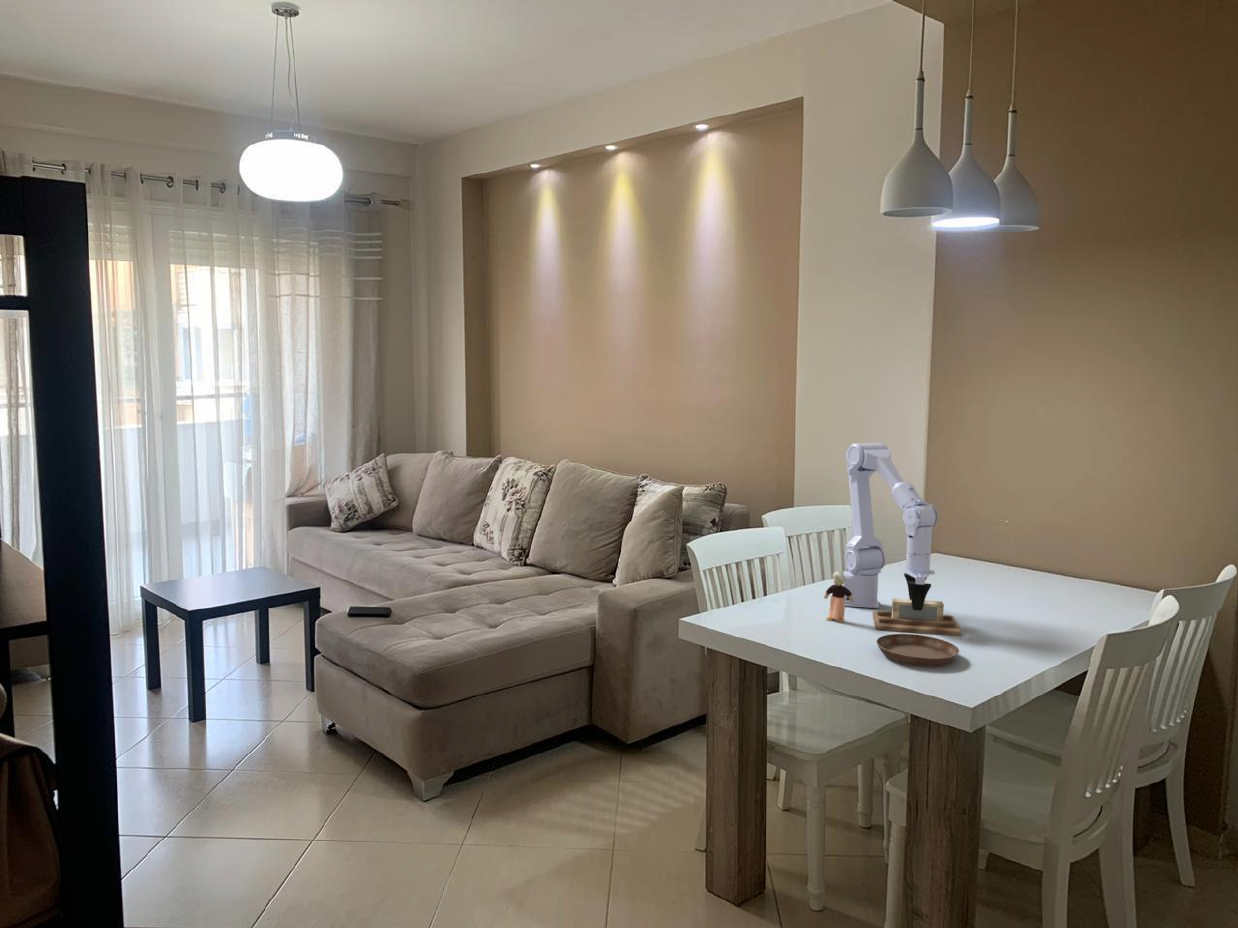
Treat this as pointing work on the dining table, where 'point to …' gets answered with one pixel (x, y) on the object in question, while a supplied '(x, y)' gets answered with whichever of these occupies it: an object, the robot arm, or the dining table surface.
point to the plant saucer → (917, 650)
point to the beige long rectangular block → (928, 613)
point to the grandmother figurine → (837, 598)
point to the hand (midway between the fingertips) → (915, 605)
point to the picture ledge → (915, 624)
